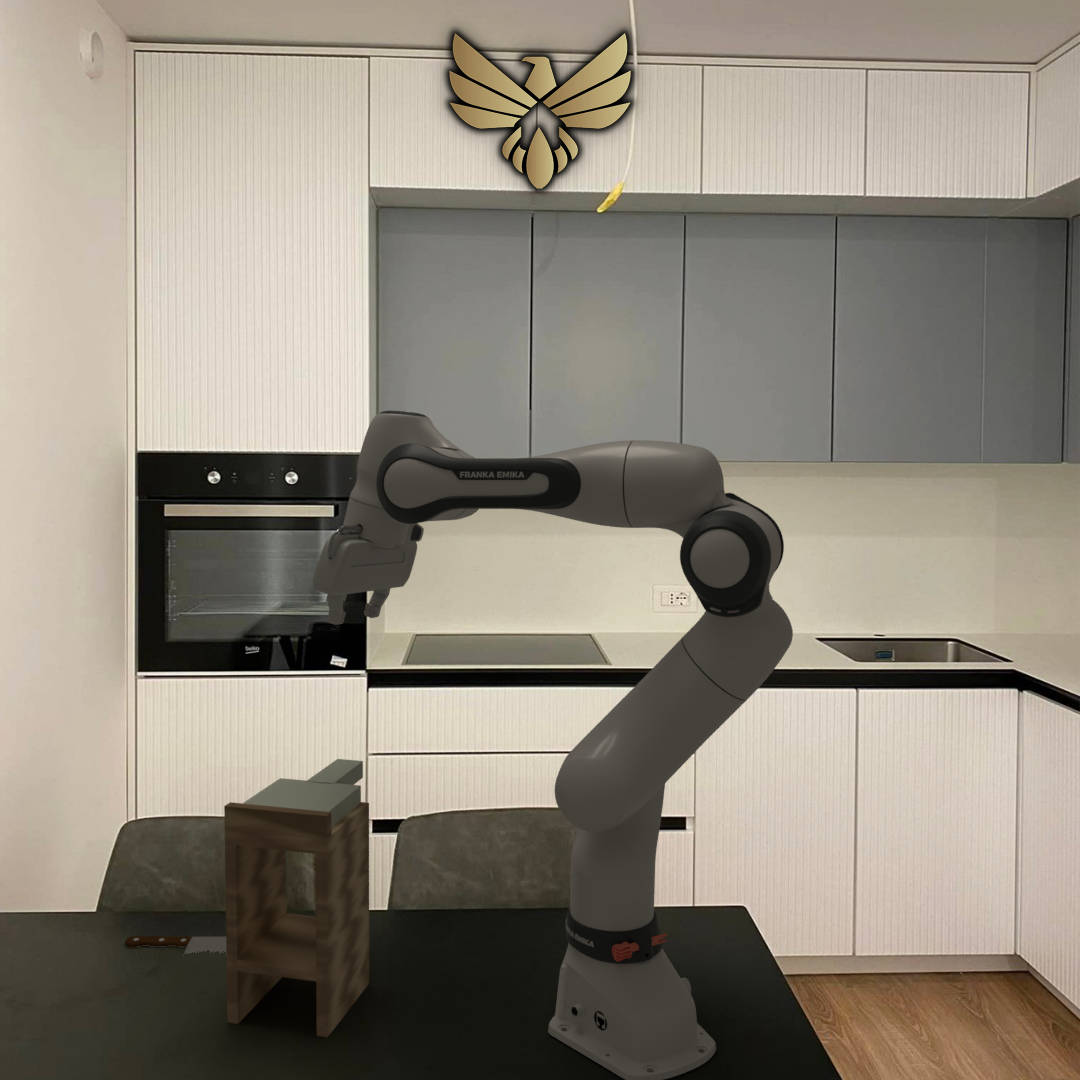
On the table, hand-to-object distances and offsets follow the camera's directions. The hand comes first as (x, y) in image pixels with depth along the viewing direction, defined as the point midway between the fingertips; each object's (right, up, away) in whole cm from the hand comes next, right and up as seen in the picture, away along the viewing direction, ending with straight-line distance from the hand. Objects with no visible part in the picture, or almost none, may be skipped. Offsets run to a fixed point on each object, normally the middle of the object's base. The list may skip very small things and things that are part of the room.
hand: (353, 619), depth 149 cm
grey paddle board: (-5, -25, -1) cm, 25 cm away
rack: (-6, -51, -5) cm, 52 cm away
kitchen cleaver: (-24, -50, +9) cm, 56 cm away
